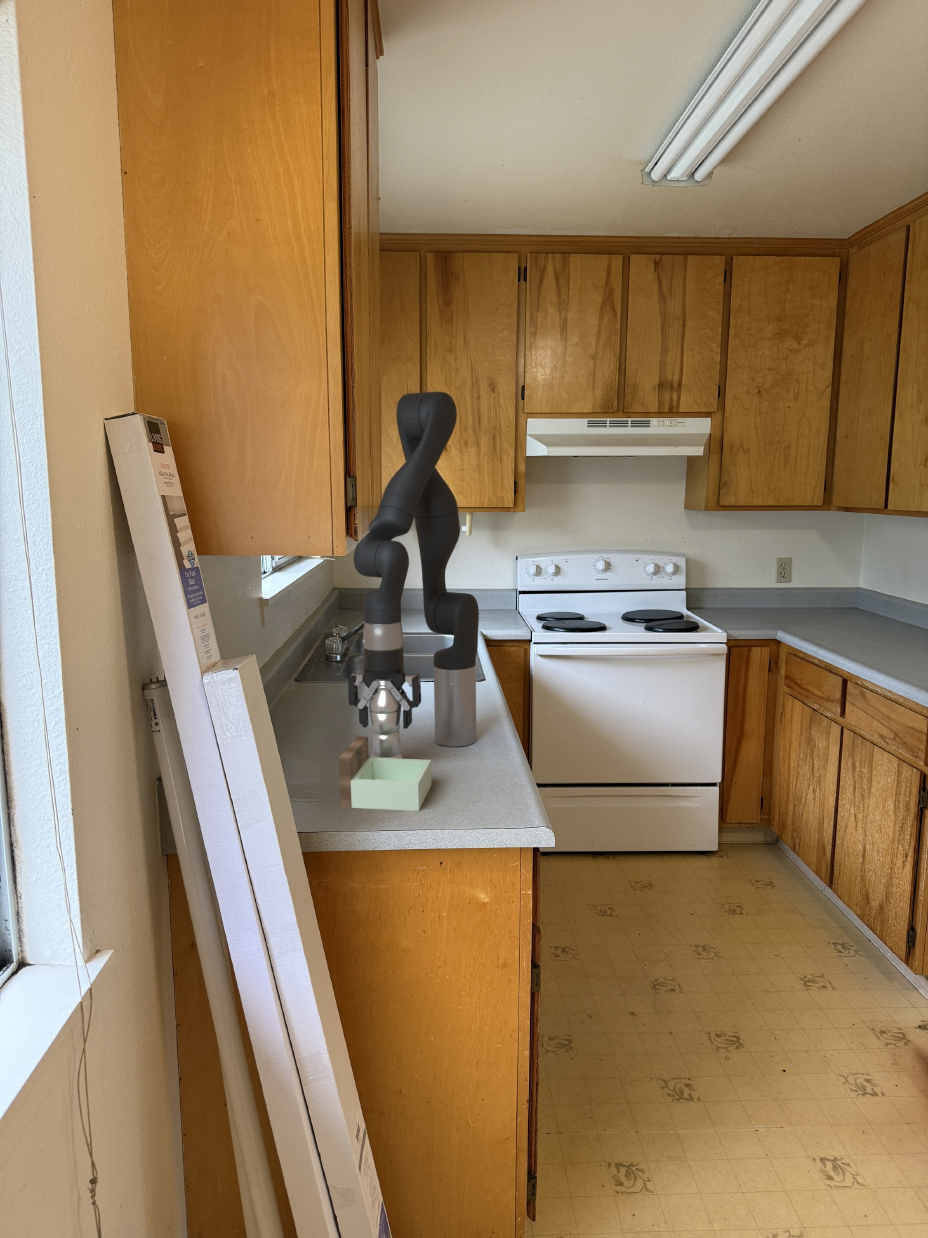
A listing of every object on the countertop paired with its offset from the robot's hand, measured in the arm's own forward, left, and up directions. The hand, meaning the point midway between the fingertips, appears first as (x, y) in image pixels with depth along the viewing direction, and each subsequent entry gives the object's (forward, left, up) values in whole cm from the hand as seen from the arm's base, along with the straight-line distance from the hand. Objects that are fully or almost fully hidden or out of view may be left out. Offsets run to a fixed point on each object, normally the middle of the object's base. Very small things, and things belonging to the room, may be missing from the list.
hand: (385, 726), depth 159 cm
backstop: (+12, +8, -10) cm, 18 cm away
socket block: (+12, +4, -9) cm, 16 cm away
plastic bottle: (0, 0, -10) cm, 10 cm away
